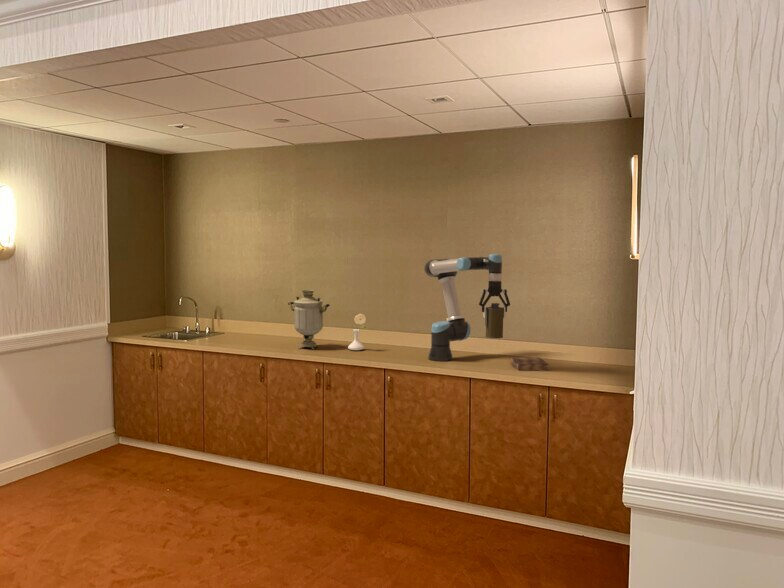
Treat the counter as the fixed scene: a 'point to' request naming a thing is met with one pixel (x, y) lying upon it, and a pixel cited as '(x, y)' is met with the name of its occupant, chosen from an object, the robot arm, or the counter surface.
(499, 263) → the robot arm
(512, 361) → the walnut base
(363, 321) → the flower in vase
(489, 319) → the canister
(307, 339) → the samovar
